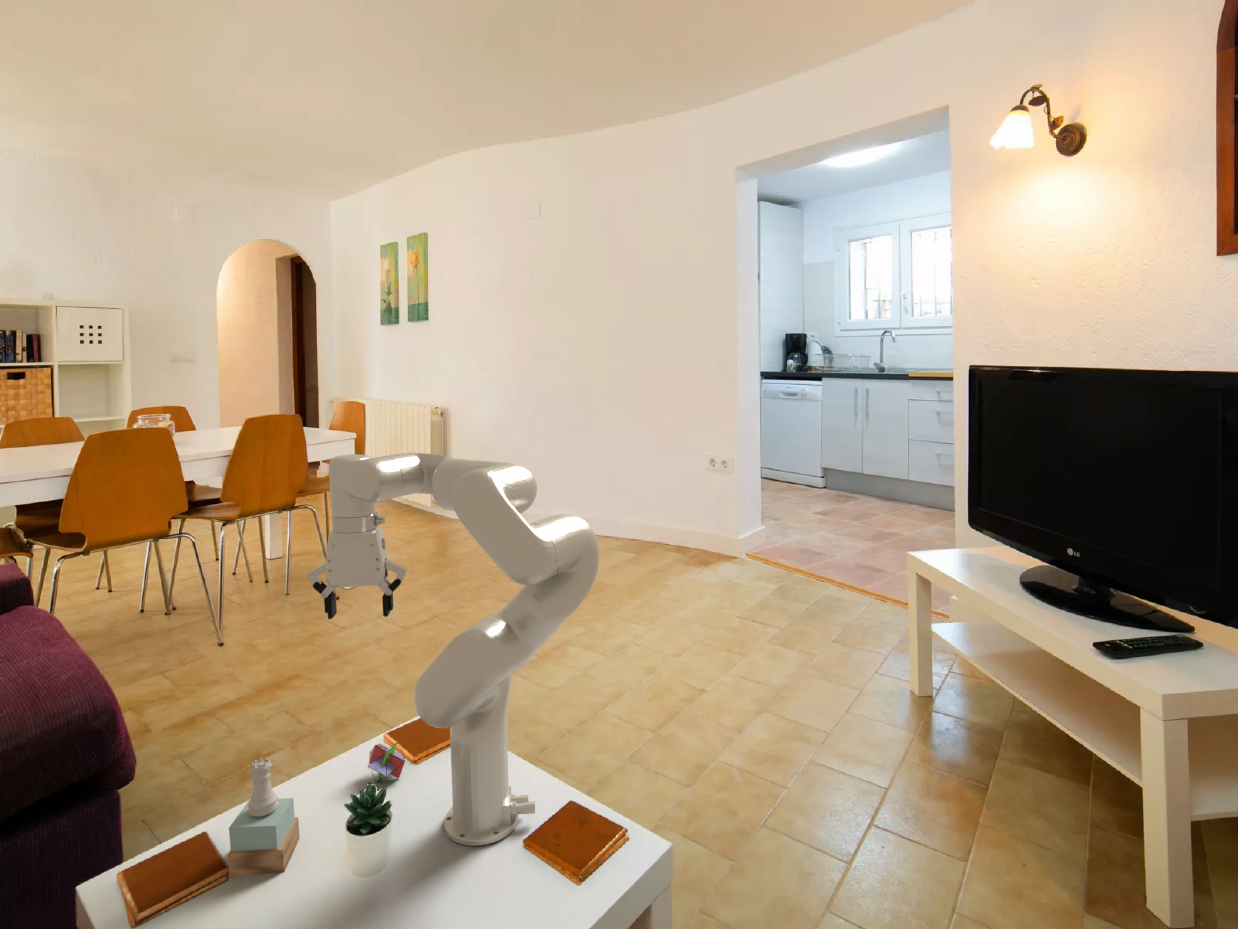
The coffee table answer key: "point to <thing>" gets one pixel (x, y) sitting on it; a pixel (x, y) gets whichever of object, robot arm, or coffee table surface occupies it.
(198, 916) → the coffee table surface
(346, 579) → the robot arm
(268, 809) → the rook chess piece
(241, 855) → the tower base
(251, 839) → the tower top
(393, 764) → the geometric puzzle
